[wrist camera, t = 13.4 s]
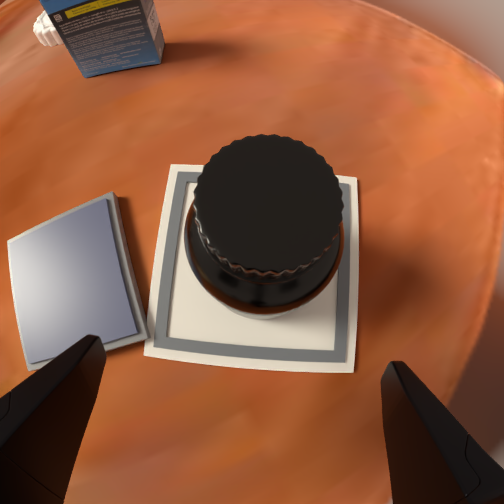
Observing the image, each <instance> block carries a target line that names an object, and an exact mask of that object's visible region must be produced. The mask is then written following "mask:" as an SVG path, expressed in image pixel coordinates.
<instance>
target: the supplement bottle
mask: <svg viewBox="0 0 504 504" xmlns="http://www.w3.org/2000/svg"><path fill="white" fill-rule="evenodd" d="M193 193H194V200H193V201H192V203H191V205H190V208H189V210H188V213H187V216H186V221H185V227H184V246H185V252H186V256H187V259H188V263H189V265H190V267H191V270H192V271H193V273H194V275H195V277H196V278H197V280H198V281H199V283H200V284H201V285H202V287H203V288H204V289H205V290H206V291H207V292H208V293H209V294H210V295H211V296H212V297H213V298H215V299H216V300H217V301H218V302H220V303H221V304H222V305H223V306H225V307H226V308H227V309H229V310H230V311H232V312H233V313H235V314H237V315H240V316H242V317H245V318H249V319H258V320H263V319H272V318H276V317H279V316H282V315H284V314H286V313H289V312H291V311H293V310H296V309H298V308H300V307H302V306H304V305H305V304H307V303H309V302H310V301H311V300H313V299H314V298H315V297H317V296H318V295H319V294H320V293H321V292H322V291H323V290H324V289H325V288H326V286H327V285H328V284H329V283H330V281H331V280H332V278H333V277H334V275H335V273H336V271H337V269H338V267H339V264H340V262H341V258H342V255H343V249H344V226H343V217H342V211H343V208H344V203H343V201H342V195H343V192H342V190H341V188H340V187H339V179H338V178H337V177H336V176H335V175H334V173H333V169H332V167H331V166H330V165H329V164H327V163H326V161H325V159H324V157H323V156H321V155H319V154H317V153H316V151H315V150H314V149H313V148H312V147H308V146H306V145H305V144H304V143H303V142H301V141H297V140H293V139H291V138H290V137H280V136H278V135H275V134H273V135H264V134H259V135H257V136H247V137H245V138H243V139H242V140H235V141H233V142H232V143H231V144H230V145H228V146H224V147H222V148H221V150H220V151H219V152H218V153H217V154H214V155H213V156H212V157H211V159H210V162H208V163H207V164H206V165H204V166H203V171H202V173H201V175H199V177H198V178H197V186H196V188H195V189H194V191H193Z"/></svg>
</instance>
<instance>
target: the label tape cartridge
mask: <svg viewBox="0 0 504 504" xmlns="http://www.w3.org/2000/svg"><path fill="white" fill-rule="evenodd" d="M39 1H40V3H41V5H42V6H43V8H44V10H45V11H46V13H47V15H48V17H49V19H50V20H51V22H52V24H53V26H54V27H55V29H56V31H57V32H58V34H59V36H60V38H61V39H62V41H63V43H64V45H65V46H66V48H67V49H68V51H69V53H70V55H71V56H72V58H73V60H74V61H75V63H76V65H77V66H78V68H79V70H80V71H81V73H82V75H83V76H84V77H85V78H88V77H91V76H95V75H99V74H104V73H108V72H113V71H118V70H123V69H128V68H134V67H140V66H146V65H154V64H160V63H161V60H162V55H163V50H164V46H165V42H164V37H163V33H162V30H161V26H160V23H159V19H158V16H157V12H156V8H155V5H154V2H153V0H39Z"/></svg>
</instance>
